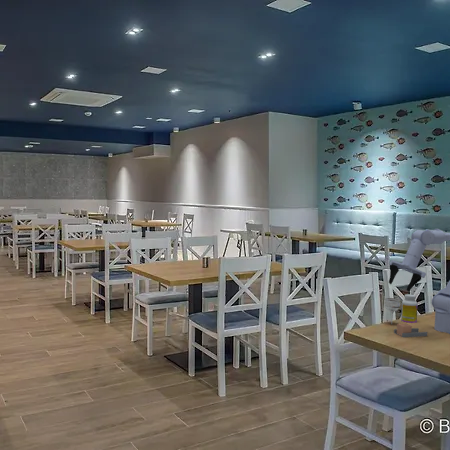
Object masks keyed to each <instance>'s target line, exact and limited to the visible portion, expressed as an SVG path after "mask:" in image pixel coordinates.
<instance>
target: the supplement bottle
mask: <svg viewBox="0 0 450 450" xmlns="http://www.w3.org/2000/svg"><path fill="white" fill-rule="evenodd" d="M416 299H417V298H416V295H414V294H409V293H407V294H404V299H403V300H402V301H401V316H400V321H401V322H403V323H408V324H415V323H418V306H419V305H418V302H417V301H416Z"/></svg>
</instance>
